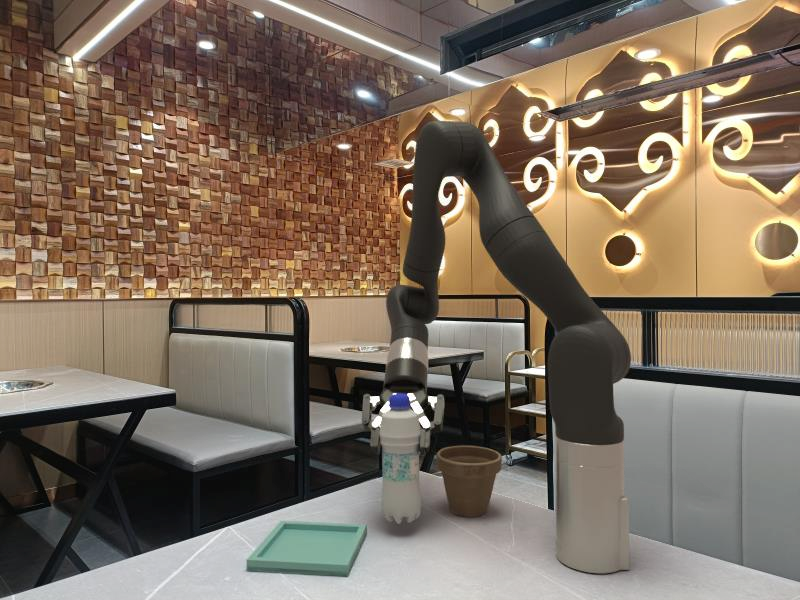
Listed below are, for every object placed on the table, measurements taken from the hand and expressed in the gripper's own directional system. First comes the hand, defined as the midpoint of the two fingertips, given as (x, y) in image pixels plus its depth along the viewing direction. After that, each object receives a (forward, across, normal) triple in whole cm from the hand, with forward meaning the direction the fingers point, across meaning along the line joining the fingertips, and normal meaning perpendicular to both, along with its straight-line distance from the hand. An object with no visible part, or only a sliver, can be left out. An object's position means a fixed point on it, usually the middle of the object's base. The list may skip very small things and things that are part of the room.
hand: (399, 452), depth 89 cm
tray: (+14, -12, +4) cm, 19 cm away
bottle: (+7, 0, +9) cm, 11 cm away
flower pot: (+1, +11, +18) cm, 20 cm away
